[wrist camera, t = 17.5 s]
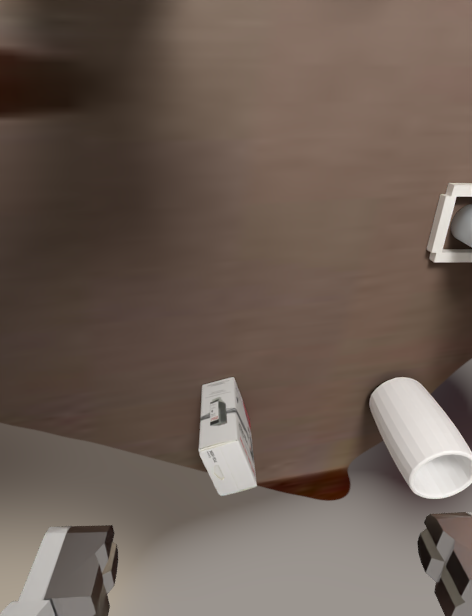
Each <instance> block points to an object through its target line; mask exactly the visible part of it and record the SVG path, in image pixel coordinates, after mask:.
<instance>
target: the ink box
mask: <svg viewBox="0 0 472 616" xmlns="http://www.w3.org/2000/svg"><path fill="white" fill-rule="evenodd" d="M199 453H200V457H201V459H202V461H203V464H204V466H205V467H206V469H207V471H208V474H209V476H210V478H211V479H212V481H213V484H214V486H215V488H216V490H217V492H218V494H219V495H221V496H225V495H228V494H232V493H237V492H240V491H244V490H248V489H251V488H254V487H257V483H256V474H255V466H254V457H253V447H252V438H251V428H250V419H249V416H248V413H247V411H246V408H245V405H244V403H243V400H242V397H241V395H240V392H239V389H238V387H237V384H236V381H235V378H234V377H231V378H227V379H223V380H219V381H216V382H212V383H208V384H204V385H202V394H201V417H200V436H199Z"/></svg>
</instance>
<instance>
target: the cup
mask: <svg viewBox="0 0 472 616" xmlns="http://www.w3.org/2000/svg"><path fill="white" fill-rule="evenodd" d="M369 406H370V410H371V413H372V415H373V418H374V420H375V422H376V425H377V427H378V430H379V432H380V434H381V436H382V438H383V440H384V443H385V445H386V446H387V449H388V450H389V453H390V455H391V456H392V458H393V460H394V462H395V464H396V466H397V467H398V469H399V471H400V472H401V474H402V476H403V477H404V479H405V480H406V482H407V484H408V485H409V487H410V488H411V490H412V491H413V493H415V494H417V495H419V496H421V497H425V498H432V499H438V498H445V497H449V496H452V495H454V494H456V493H459V492H460V491H462V490H463V489H465V488H466V487H468V486H469V485H470V484H471V483H472V452H471V451H470V448H469V447H468V446H467V443H466V442H465V440H464V439H463V437H462V436H461V434H460V433H459V431H458V430H457V428H456V427H455V425H454V424H453V423H452V421H451V420H450V419H449V417H448V416H447V415H446V413H445V412H444V411H443V409H442V408H441V407H440V406H439V405H438V403H437V402H436V401H435V400H434V398H433V397H432V396H431V395H430V394H429V392H428V391H427V390H426V389H425V388H424V387H423V386H422V385H421V383H419V382H418V381H416V380H414V379H411V378H405V377H400V378H394V379H391V380H388V381H386V382H384V383H382V384H381V385H380V386H379V387H377V388H376V389H375V391H374V392H373V393H372V394H371V397H370V401H369Z"/></svg>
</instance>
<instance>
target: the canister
mask: <svg viewBox="0 0 472 616" xmlns="http://www.w3.org/2000/svg"><path fill="white" fill-rule="evenodd" d="M451 232H452V235H453V236H454V237H455V238H456V239H458V240H460V241H461V242H463V243H465V244H467V245H468V246H470V247H472V204H469V205H466V206H464V207H463V208H461V209H460V210H459V211H458V212H457V213H456V214H455V216H454V217H453V219H452V222H451Z"/></svg>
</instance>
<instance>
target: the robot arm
mask: <svg viewBox="0 0 472 616" xmlns="http://www.w3.org/2000/svg"><path fill="white" fill-rule="evenodd" d="M424 523H425V525H426V527H427V528H426V529H425V530H424V531H422V532H421V533H420V535H419V538H418V553H419V557H420V560H421V563H422V565H423V568H424V570H425V572H426V574H428V575H429V576H430V577H431V578H432V579H433V580H434V581H435V582H436V585H435V594H436V597H437V599H438V601H439V603H440V606H441V608H442V610H443V612H444V614H445V616H472V512H471V513H470V512H469V513H466V512H459V513H441V514H430V515H428V516H427V517H426V519H425V522H424ZM113 538H114V530H113V526H112V525H108V526H107V525H106V526H74V527H73V526H64V527H63V526H62V527H50V528H49V529H48V530H47V532H46V534H45V535H44V537H43V540H42V542H41V545H40V548H39V550H38V553H37V555H36V557H35V560H34V562H33V565H32V568H31V570H30V573H29V575H28V578H27V580H26V583H25V585H24V588H23V590H22V593H21V595H20V598H19V600H18V601H13V602H11V603H10V604H9V605H8V606H7V607H6V608H5V609H4V610H3V611H2V612H1V613H0V616H108V613H109V608H110V605H109V601H108V596H107V594H108V593H109V591H110V590H111V589H112V588H113V586H114V584H115V579H116V574H117V565H118V549H117V544H115V543H114V542H113Z"/></svg>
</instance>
